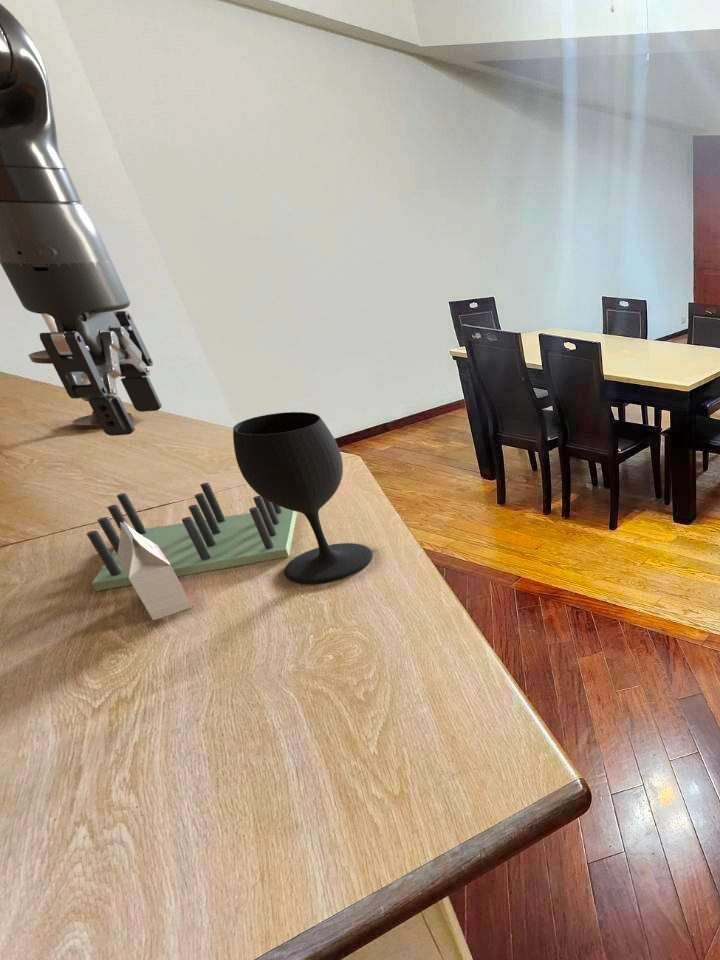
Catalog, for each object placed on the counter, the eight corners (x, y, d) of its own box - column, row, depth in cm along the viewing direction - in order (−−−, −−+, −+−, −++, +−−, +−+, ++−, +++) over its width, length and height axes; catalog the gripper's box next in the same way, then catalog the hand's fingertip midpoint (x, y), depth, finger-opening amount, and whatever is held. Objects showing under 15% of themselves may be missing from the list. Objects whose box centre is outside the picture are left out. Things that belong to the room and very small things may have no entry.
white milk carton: (153, 620, 69) (110, 546, 64) (140, 597, 73) (99, 526, 67) (192, 607, 71) (154, 535, 66) (179, 585, 75) (141, 516, 70)
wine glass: (363, 579, 78) (314, 434, 68) (272, 589, 75) (206, 439, 65) (380, 541, 86) (338, 408, 76) (299, 549, 84) (244, 412, 74)
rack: (96, 591, 73) (65, 541, 70) (130, 538, 84) (105, 492, 81) (289, 556, 82) (270, 510, 78) (297, 512, 93) (281, 470, 90)
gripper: (38, 250, 60) (116, 406, 68) (-45, 262, 49) (60, 447, 57) (134, 251, 63) (198, 401, 71) (75, 263, 52) (159, 439, 60)
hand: (136, 421), depth 64 cm, fingers open, 8 cm apart
